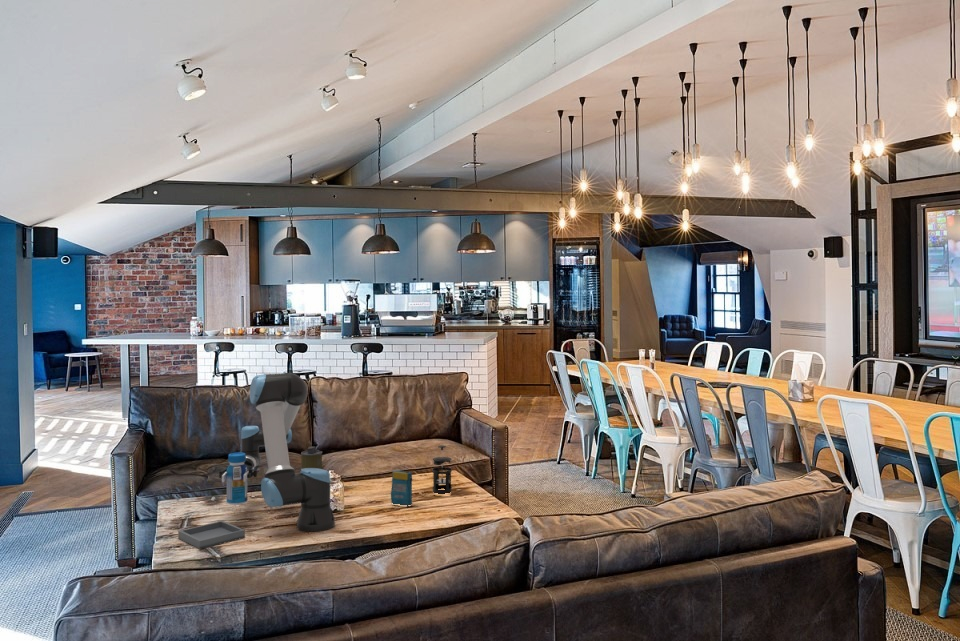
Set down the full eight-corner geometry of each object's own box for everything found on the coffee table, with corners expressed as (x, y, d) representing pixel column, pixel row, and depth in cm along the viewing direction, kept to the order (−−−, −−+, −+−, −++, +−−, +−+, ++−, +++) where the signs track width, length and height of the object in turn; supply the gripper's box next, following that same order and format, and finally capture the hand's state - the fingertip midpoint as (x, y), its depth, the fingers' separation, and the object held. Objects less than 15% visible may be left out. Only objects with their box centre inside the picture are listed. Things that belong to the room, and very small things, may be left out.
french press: (456, 495, 341) (456, 446, 340) (440, 498, 335) (439, 449, 335) (443, 490, 350) (442, 442, 350) (426, 493, 345) (426, 445, 344)
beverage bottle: (221, 503, 295) (221, 455, 294) (235, 498, 303) (235, 451, 302) (238, 506, 292) (238, 457, 291) (252, 500, 300) (252, 452, 299)
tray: (244, 537, 280) (244, 529, 280) (199, 549, 267) (199, 541, 266) (222, 527, 292) (222, 520, 292) (178, 538, 279) (178, 530, 279)
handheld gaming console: (413, 505, 323) (412, 472, 323) (408, 508, 319) (408, 474, 319) (394, 503, 327) (394, 470, 327) (389, 505, 323) (389, 472, 323)
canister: (317, 490, 351) (317, 449, 350) (297, 489, 353) (297, 448, 352) (326, 484, 361) (326, 445, 361) (307, 484, 363) (306, 444, 363)
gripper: (270, 473, 316) (259, 486, 293) (221, 475, 314) (207, 488, 291) (269, 456, 316) (259, 468, 293) (221, 458, 314) (207, 470, 291)
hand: (233, 478), depth 292 cm, fingers closed on beverage bottle, 8 cm apart
